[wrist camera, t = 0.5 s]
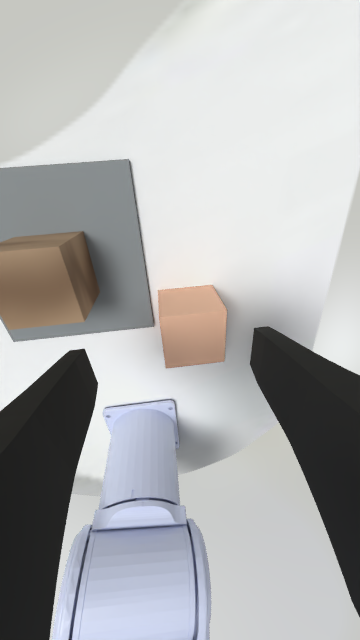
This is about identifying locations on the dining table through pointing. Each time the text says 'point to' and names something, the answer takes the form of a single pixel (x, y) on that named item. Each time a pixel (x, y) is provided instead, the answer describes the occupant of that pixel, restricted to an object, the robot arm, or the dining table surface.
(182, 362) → the terracotta block
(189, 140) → the dining table surface
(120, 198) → the mat
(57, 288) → the walnut block
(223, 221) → the dining table surface
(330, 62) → the dining table surface
